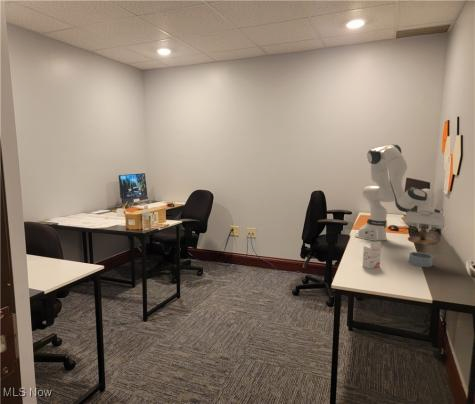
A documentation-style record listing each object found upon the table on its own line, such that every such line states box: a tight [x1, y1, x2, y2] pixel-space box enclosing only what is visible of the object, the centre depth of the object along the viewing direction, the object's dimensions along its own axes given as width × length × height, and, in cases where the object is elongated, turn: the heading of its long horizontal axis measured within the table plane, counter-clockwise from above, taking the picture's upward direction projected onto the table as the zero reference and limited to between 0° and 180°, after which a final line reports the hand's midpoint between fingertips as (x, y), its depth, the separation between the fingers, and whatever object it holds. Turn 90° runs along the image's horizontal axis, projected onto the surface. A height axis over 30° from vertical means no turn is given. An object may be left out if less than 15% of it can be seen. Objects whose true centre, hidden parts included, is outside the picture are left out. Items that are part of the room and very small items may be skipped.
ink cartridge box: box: [362, 240, 382, 269], centre depth 189 cm, size 9×5×15 cm, turn 117°
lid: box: [407, 226, 439, 246], centre depth 195 cm, size 15×15×9 cm
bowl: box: [408, 251, 434, 268], centre depth 197 cm, size 12×12×5 cm
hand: (423, 232), depth 195 cm, fingers closed on lid, 2 cm apart
